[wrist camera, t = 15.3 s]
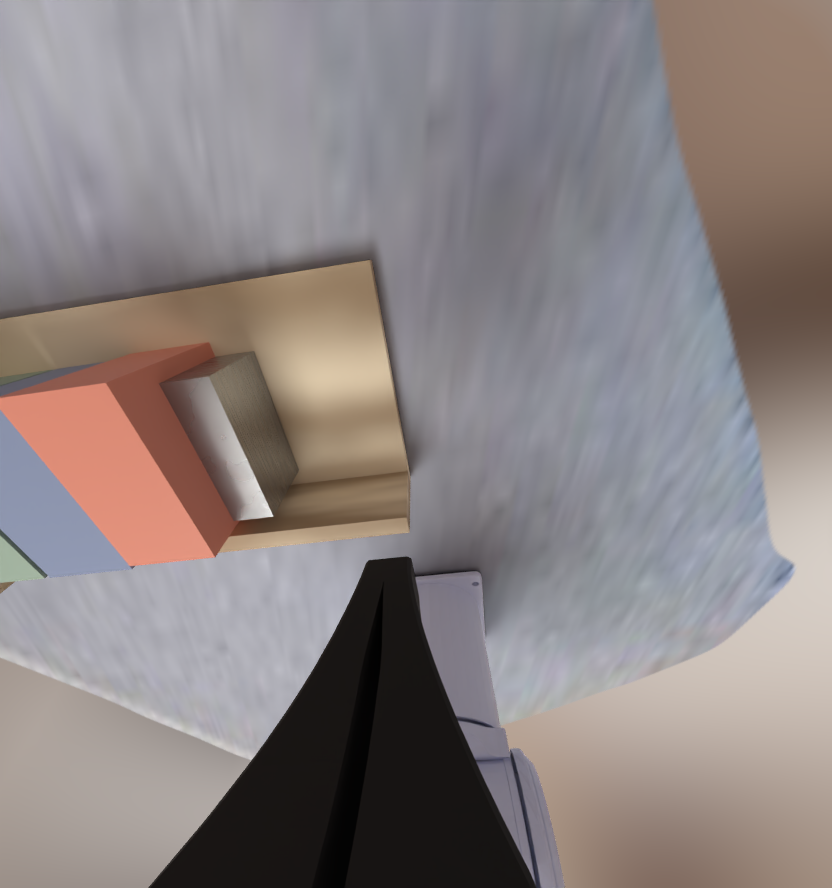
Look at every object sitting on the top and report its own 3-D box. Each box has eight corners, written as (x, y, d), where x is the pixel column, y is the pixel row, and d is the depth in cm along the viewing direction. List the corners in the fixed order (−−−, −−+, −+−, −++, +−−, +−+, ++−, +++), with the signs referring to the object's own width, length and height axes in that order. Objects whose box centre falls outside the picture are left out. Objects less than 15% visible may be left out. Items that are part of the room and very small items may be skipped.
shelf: (410, 477, 20) (409, 565, 15) (86, 514, 22) (-36, 609, 16) (371, 260, 15) (343, 259, 9) (-67, 330, 16) (-349, 370, 10)
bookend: (299, 470, 19) (273, 516, 16) (266, 474, 19) (233, 521, 16) (254, 351, 16) (208, 376, 12) (214, 356, 16) (158, 383, 12)
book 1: (206, 487, 20) (132, 569, 15) (144, 495, 20) (50, 577, 15) (133, 357, 16) (-5, 404, 11) (57, 368, 16) (-113, 419, 11)
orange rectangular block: (268, 477, 20) (215, 557, 14) (205, 485, 20) (129, 566, 15) (209, 341, 16) (105, 382, 10) (130, 353, 16) (-9, 399, 11)
